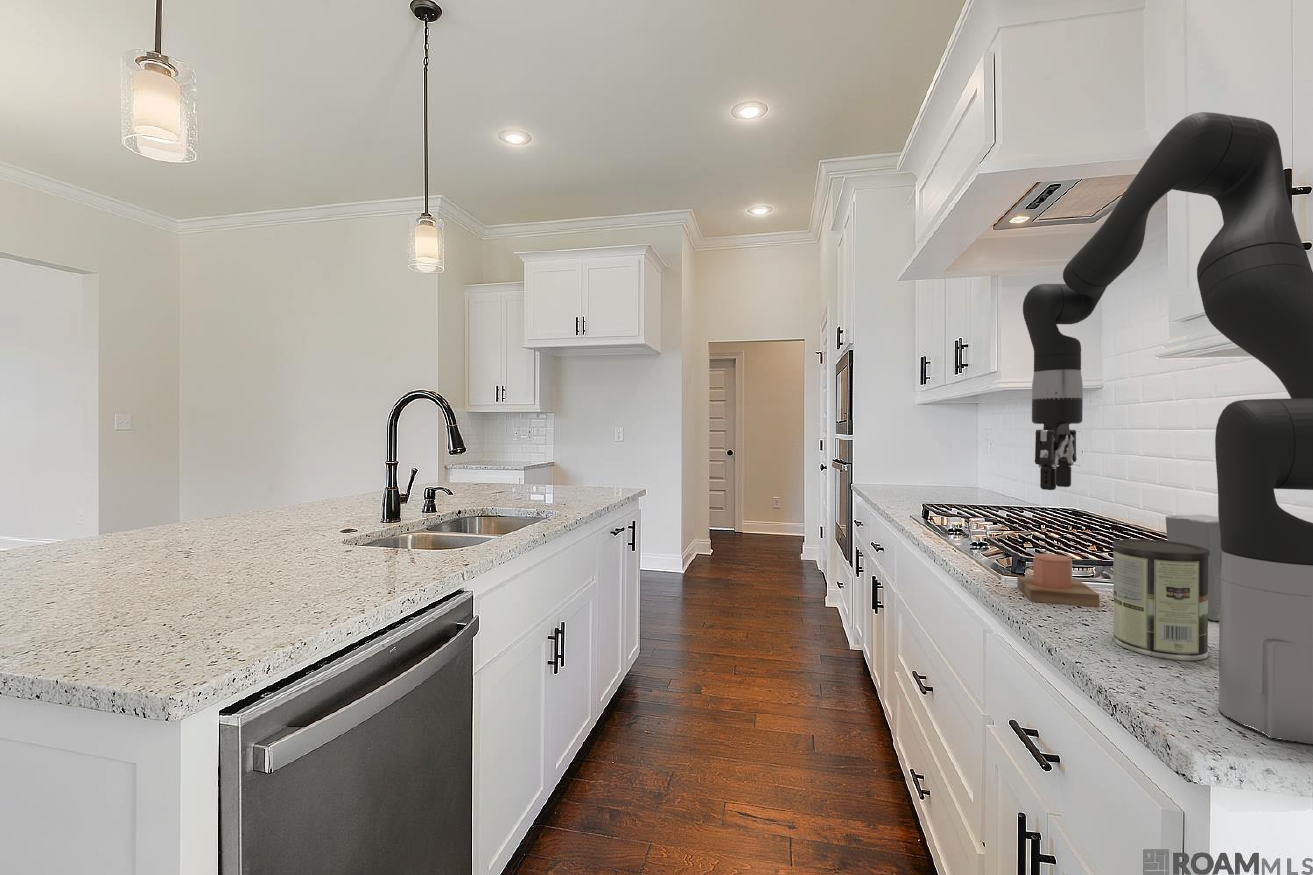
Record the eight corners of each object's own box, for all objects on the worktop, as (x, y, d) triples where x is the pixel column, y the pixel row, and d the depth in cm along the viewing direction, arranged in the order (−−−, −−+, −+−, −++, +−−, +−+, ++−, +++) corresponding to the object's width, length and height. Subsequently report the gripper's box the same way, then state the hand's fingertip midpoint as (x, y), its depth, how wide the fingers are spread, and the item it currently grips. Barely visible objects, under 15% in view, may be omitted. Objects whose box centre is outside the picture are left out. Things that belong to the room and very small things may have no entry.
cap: (1055, 580, 112) (1055, 553, 112) (1079, 588, 106) (1079, 559, 106) (1026, 581, 111) (1027, 553, 111) (1049, 589, 106) (1049, 560, 105)
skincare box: (1254, 622, 94) (1256, 520, 93) (1207, 622, 94) (1208, 520, 94) (1206, 606, 102) (1207, 512, 102) (1163, 606, 102) (1164, 512, 102)
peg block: (1099, 606, 102) (1099, 571, 102) (1031, 601, 105) (1031, 567, 105) (1079, 591, 111) (1079, 558, 111) (1017, 586, 115) (1017, 555, 115)
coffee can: (1153, 632, 90) (1154, 537, 89) (1230, 658, 79) (1231, 551, 79) (1092, 636, 88) (1093, 539, 88) (1163, 664, 78) (1164, 554, 77)
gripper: (1069, 394, 100) (1068, 492, 100) (1093, 397, 110) (1092, 487, 110) (1018, 396, 106) (1018, 489, 106) (1045, 399, 115) (1045, 484, 115)
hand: (1056, 488), depth 108 cm, fingers open, 8 cm apart
